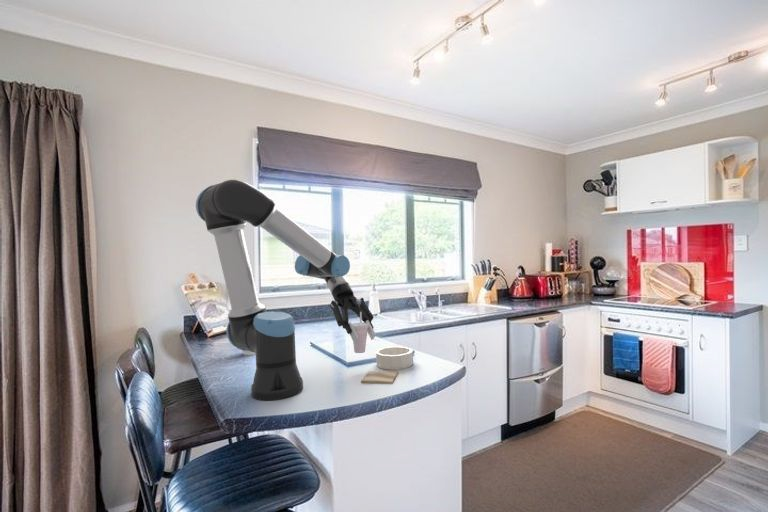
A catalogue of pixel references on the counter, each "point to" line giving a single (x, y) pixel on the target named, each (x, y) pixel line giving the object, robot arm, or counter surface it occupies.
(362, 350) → the smoothie
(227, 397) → the counter surface
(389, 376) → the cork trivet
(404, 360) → the bowl
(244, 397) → the counter surface
